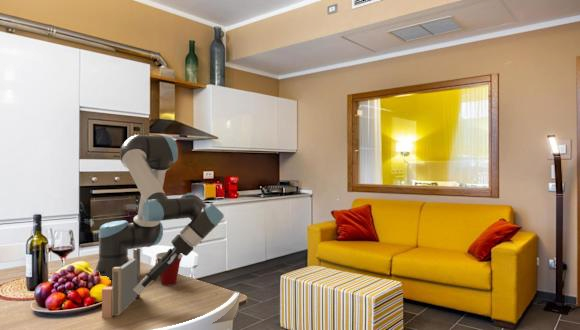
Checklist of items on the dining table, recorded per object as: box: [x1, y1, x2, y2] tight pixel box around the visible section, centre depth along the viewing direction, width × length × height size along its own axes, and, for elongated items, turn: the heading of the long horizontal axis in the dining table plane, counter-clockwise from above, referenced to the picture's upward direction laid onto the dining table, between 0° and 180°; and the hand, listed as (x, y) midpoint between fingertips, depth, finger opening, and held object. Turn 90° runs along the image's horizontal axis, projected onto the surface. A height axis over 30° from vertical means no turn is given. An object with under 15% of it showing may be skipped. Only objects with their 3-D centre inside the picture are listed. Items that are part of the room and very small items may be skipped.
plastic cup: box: [155, 251, 184, 286], centre depth 165 cm, size 11×11×12 cm
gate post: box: [132, 248, 141, 300], centre depth 147 cm, size 2×2×18 cm
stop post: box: [101, 286, 114, 318], centre depth 131 cm, size 3×3×9 cm
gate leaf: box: [111, 258, 137, 316], centre depth 137 cm, size 17×2×15 cm, turn 2°
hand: (136, 291), depth 136 cm, fingers closed
